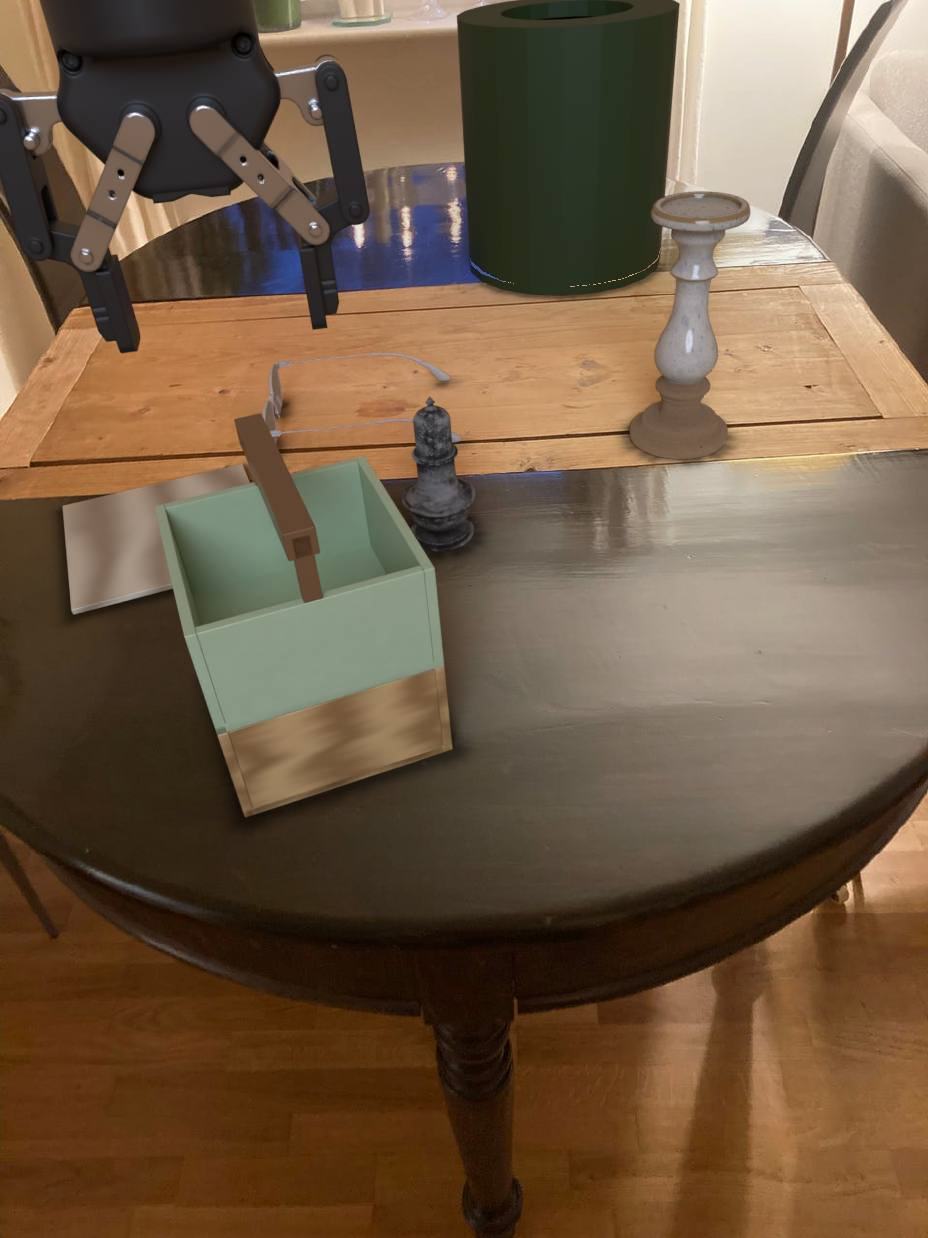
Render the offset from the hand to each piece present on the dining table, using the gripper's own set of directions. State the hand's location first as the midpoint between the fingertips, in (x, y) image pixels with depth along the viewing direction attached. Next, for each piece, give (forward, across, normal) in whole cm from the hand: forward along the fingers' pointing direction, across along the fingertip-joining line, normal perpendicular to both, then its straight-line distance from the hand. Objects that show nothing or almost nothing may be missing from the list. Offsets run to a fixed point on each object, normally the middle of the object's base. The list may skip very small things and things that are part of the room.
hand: (226, 334), depth 42 cm
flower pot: (+26, +37, +79) cm, 91 cm away
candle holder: (+26, +35, +30) cm, 53 cm away
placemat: (+26, -12, +26) cm, 38 cm away
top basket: (+19, 0, +1) cm, 19 cm away
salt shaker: (+26, +11, +20) cm, 35 cm away
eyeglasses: (+26, +7, +41) cm, 50 cm away
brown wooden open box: (+26, 0, +1) cm, 26 cm away
